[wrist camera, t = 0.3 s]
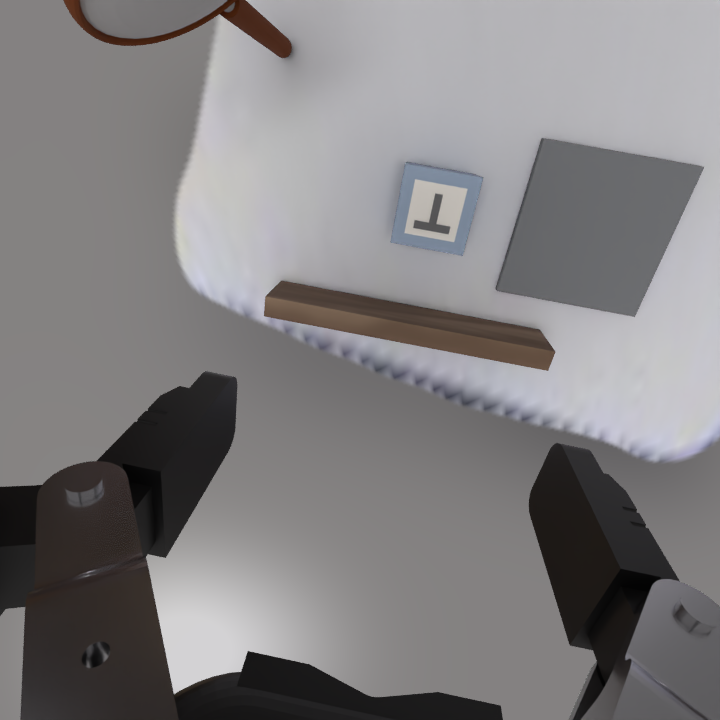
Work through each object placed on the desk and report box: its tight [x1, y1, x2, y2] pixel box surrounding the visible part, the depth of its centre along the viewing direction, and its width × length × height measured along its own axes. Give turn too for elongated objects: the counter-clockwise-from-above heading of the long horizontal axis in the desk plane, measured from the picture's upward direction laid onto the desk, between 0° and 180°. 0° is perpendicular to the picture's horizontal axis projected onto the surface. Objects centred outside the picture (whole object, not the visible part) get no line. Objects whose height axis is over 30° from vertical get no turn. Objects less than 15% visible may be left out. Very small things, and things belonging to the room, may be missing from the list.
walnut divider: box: [264, 281, 555, 371], centre depth 35 cm, size 2×22×4 cm, turn 80°
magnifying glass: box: [64, 0, 292, 58], centre depth 21 cm, size 9×2×20 cm, turn 117°
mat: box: [496, 138, 704, 317], centre depth 33 cm, size 11×11×1 cm
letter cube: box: [391, 162, 483, 256], centre depth 31 cm, size 5×5×5 cm
